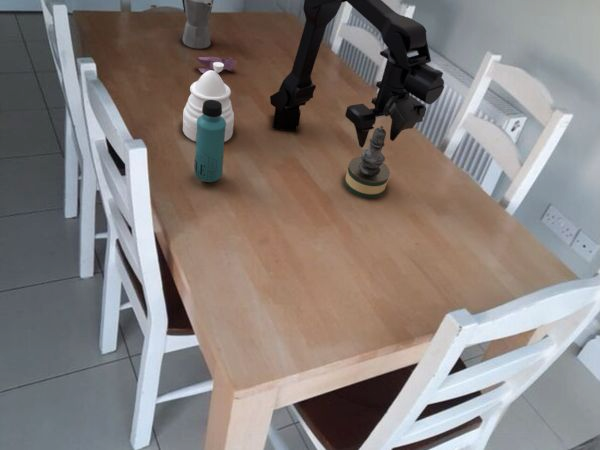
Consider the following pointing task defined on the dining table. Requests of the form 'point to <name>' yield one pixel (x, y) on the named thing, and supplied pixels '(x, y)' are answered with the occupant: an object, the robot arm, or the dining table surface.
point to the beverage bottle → (210, 142)
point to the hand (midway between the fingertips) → (376, 143)
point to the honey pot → (202, 91)
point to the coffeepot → (197, 23)
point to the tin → (366, 180)
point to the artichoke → (210, 60)
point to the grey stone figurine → (373, 153)
